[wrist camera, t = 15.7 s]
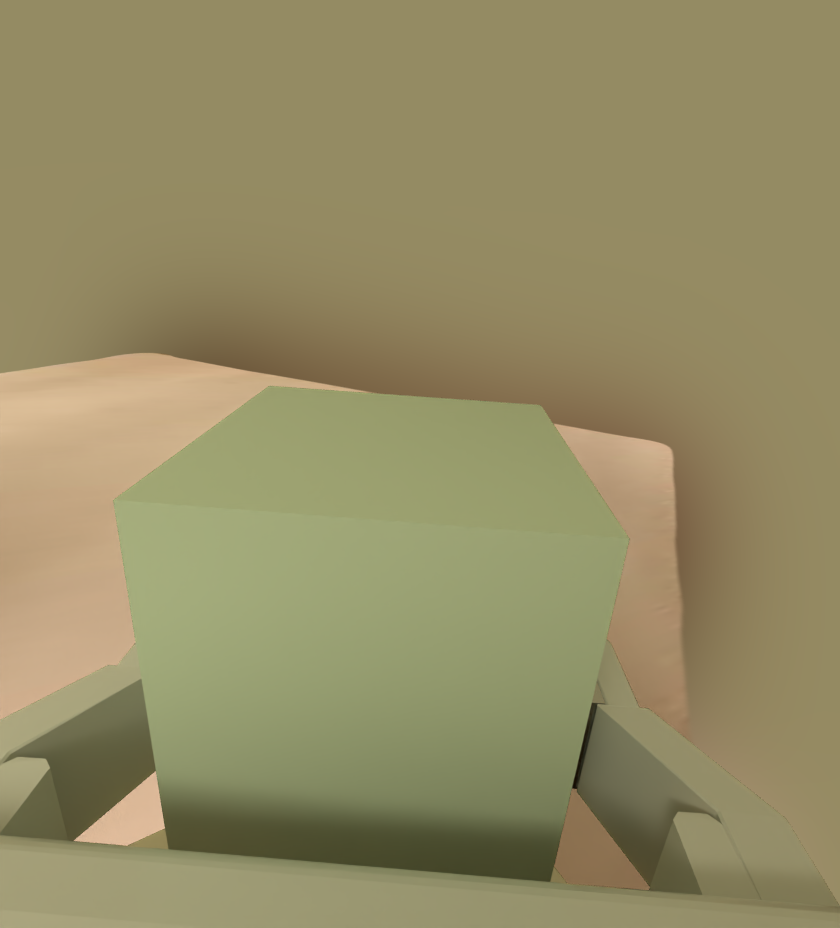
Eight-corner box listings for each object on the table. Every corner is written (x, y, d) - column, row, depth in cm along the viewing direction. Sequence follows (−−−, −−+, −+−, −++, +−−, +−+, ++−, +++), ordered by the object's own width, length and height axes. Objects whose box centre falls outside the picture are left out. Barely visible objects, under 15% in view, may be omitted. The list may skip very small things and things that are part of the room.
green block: (200, 1051, 9) (113, 500, 5) (284, 777, 13) (269, 385, 10) (504, 1079, 9) (628, 539, 5) (483, 793, 13) (540, 405, 10)
